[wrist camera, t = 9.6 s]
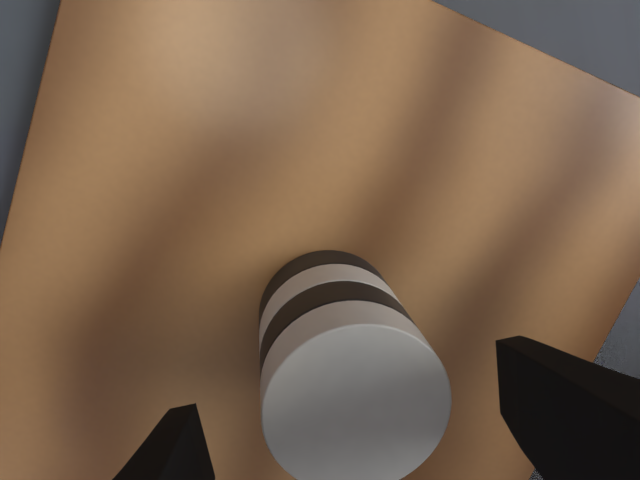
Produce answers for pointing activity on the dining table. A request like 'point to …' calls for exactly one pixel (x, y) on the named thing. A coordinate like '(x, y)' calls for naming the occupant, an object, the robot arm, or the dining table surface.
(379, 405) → the cylinder
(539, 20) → the dining table surface
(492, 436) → the wooden mat
